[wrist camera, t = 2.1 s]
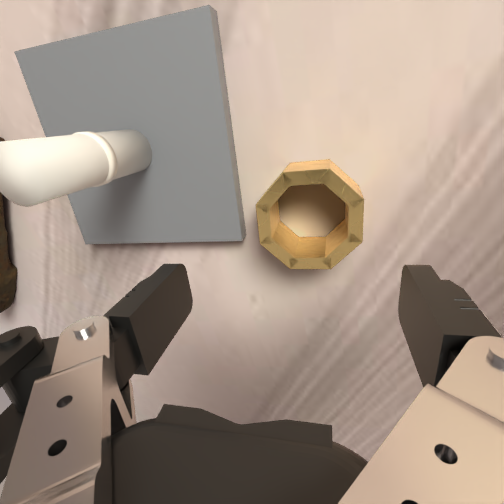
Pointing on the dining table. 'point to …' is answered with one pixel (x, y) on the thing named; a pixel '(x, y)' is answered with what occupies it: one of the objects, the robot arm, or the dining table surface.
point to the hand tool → (5, 265)
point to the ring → (311, 248)
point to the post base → (160, 107)
